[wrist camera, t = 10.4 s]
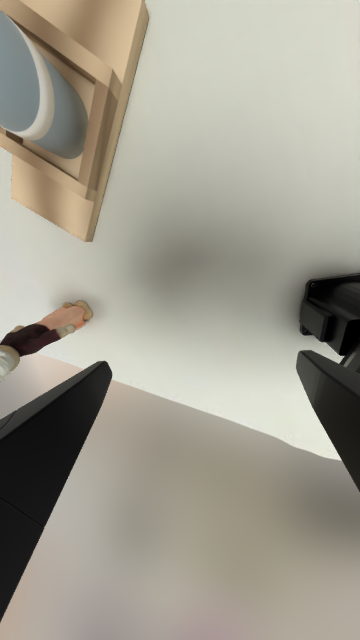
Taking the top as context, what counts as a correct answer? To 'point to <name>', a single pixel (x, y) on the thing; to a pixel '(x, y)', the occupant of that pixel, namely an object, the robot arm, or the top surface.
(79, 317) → the grandmother figurine
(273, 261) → the top surface
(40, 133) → the tower
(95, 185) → the plinth
